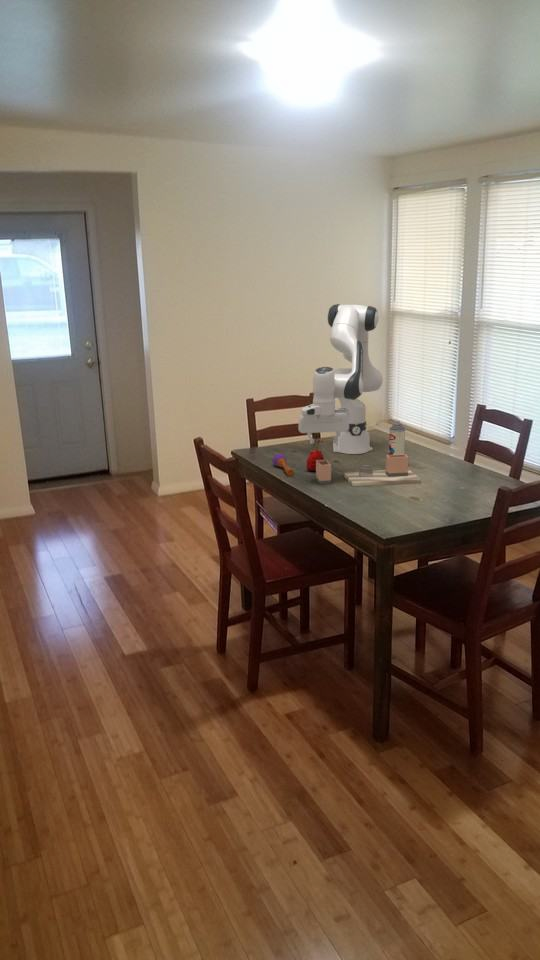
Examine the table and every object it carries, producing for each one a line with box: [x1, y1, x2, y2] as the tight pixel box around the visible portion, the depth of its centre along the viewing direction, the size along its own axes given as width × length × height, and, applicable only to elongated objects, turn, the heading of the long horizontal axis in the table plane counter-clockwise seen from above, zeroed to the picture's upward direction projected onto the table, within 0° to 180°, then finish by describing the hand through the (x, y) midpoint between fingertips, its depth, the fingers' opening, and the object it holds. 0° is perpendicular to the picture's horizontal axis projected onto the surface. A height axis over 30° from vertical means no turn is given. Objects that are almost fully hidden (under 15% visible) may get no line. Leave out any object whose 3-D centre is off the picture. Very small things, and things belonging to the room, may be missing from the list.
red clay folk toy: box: [306, 437, 325, 472], centre depth 316 cm, size 8×7×15 cm
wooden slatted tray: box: [343, 464, 422, 487], centre depth 303 cm, size 16×28×6 cm, turn 97°
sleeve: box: [315, 459, 332, 485], centre depth 300 cm, size 8×5×8 cm, turn 7°
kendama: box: [272, 453, 295, 477], centre depth 318 cm, size 6×6×20 cm
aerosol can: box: [388, 420, 406, 455], centre depth 320 cm, size 7×7×20 cm
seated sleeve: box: [385, 453, 410, 477], centre depth 303 cm, size 8×5×8 cm, turn 97°
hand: (323, 442), depth 297 cm, fingers open, 8 cm apart
